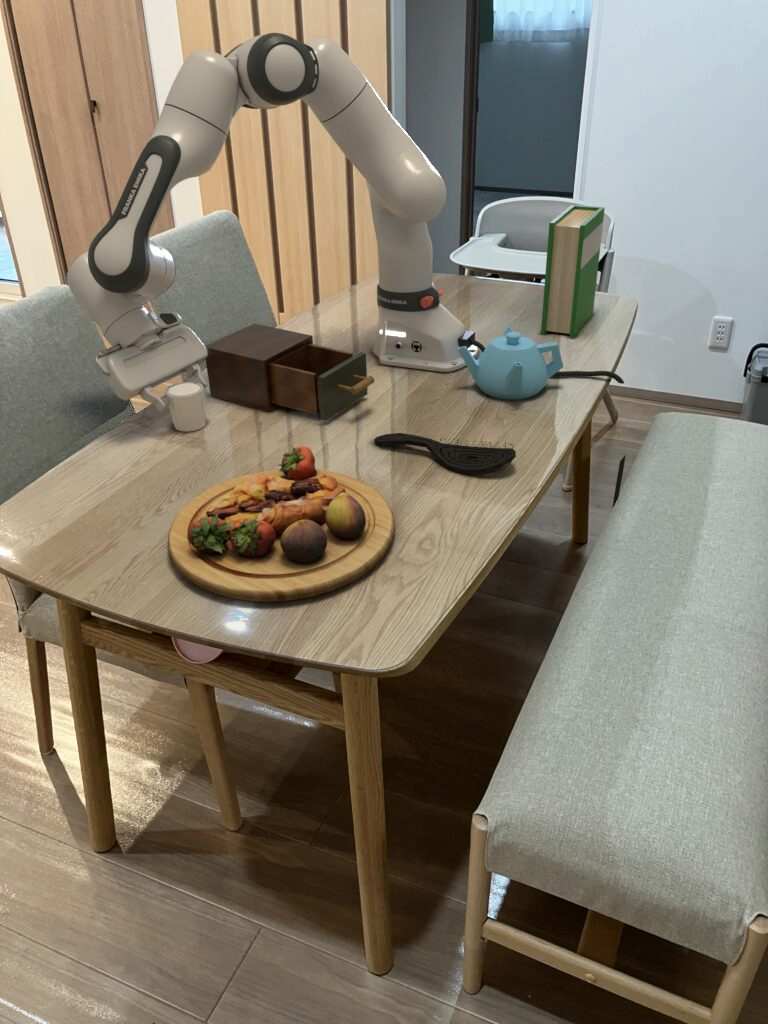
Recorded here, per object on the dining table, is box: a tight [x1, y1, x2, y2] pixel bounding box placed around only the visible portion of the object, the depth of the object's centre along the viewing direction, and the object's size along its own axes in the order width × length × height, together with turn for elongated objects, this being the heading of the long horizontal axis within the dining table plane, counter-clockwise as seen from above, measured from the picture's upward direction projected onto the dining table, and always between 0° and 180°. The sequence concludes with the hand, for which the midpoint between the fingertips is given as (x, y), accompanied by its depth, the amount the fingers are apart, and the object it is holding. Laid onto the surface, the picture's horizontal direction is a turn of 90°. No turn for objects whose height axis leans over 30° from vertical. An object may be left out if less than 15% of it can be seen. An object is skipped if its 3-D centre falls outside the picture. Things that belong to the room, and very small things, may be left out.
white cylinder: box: [164, 381, 207, 432], centre depth 148 cm, size 7×7×7 cm
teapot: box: [458, 327, 564, 400], centre depth 157 cm, size 15×15×11 cm
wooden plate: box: [167, 445, 396, 602], centre depth 116 cm, size 32×32×8 cm
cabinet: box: [204, 322, 314, 413], centre depth 159 cm, size 15×15×10 cm
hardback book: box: [540, 204, 605, 339], centre depth 183 cm, size 18×7×24 cm, turn 154°
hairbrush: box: [373, 432, 517, 475], centre depth 136 cm, size 8×4×25 cm
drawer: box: [267, 343, 375, 422], centre depth 152 cm, size 18×13×8 cm
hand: (184, 398), depth 147 cm, fingers open, 8 cm apart
